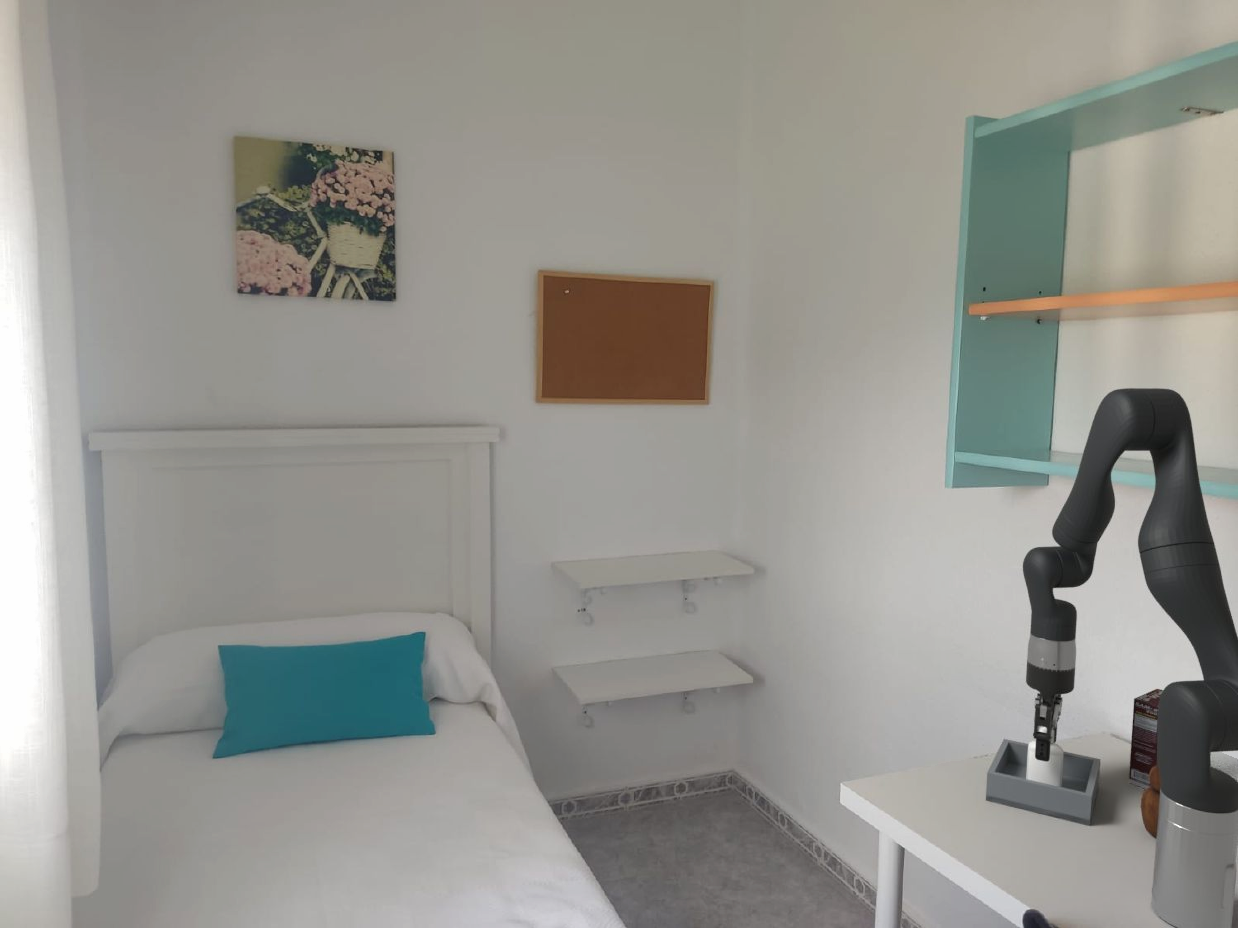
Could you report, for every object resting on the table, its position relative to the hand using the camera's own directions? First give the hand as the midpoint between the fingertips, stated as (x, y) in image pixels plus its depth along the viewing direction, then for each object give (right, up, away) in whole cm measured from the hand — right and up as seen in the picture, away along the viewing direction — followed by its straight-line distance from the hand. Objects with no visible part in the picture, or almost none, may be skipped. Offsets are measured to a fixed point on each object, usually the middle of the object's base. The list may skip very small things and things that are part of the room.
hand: (1045, 750), depth 159 cm
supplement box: (+22, -7, +5) cm, 23 cm away
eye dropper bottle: (0, -7, +1) cm, 7 cm away
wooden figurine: (+13, -10, -13) cm, 20 cm away
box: (0, -8, +1) cm, 8 cm away
